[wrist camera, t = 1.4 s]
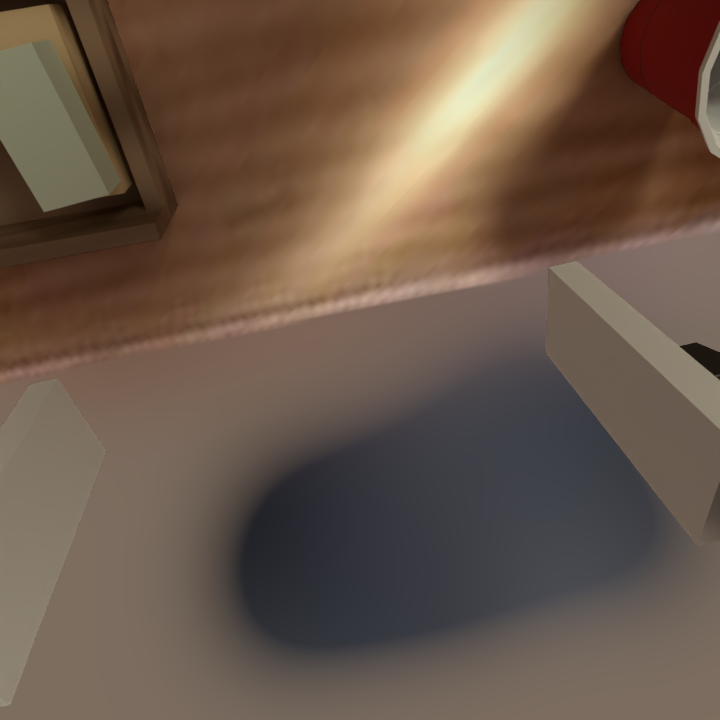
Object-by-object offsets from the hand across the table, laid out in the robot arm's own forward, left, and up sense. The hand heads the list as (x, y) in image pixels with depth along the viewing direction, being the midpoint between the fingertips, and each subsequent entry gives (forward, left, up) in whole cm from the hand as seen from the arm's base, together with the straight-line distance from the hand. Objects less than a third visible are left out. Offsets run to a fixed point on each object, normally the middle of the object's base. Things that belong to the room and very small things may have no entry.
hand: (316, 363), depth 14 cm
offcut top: (-5, -12, -20) cm, 23 cm away
